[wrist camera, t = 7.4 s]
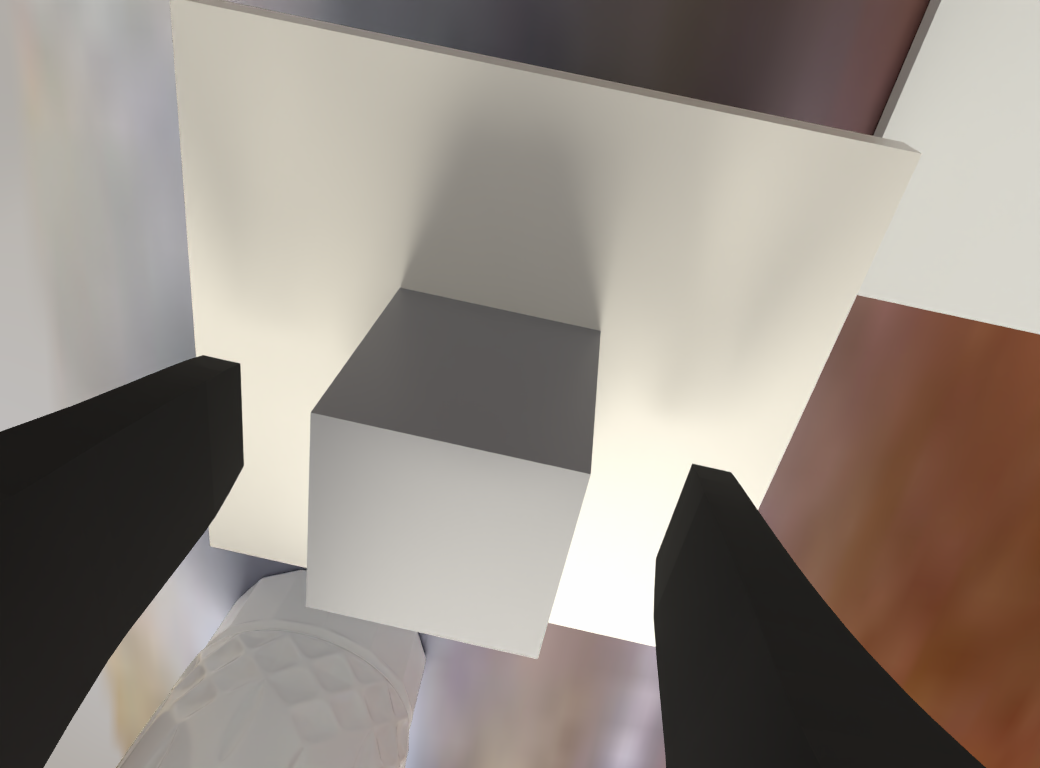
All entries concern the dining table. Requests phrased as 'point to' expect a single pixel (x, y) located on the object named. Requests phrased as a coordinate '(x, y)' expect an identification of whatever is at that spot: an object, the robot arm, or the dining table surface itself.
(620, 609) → the lid
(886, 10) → the dining table surface
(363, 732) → the white cup
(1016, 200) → the cream square tray
